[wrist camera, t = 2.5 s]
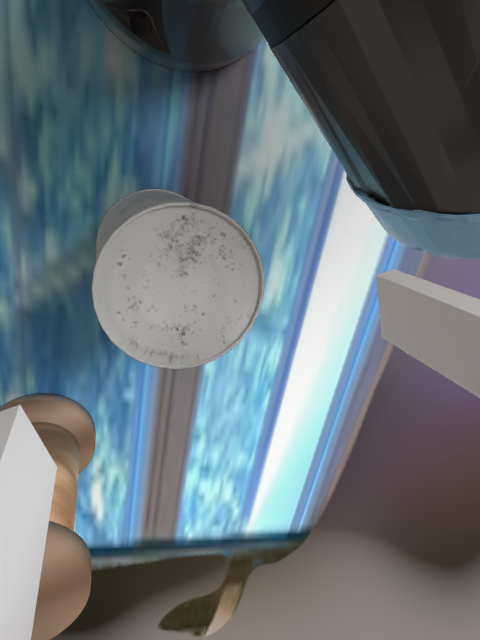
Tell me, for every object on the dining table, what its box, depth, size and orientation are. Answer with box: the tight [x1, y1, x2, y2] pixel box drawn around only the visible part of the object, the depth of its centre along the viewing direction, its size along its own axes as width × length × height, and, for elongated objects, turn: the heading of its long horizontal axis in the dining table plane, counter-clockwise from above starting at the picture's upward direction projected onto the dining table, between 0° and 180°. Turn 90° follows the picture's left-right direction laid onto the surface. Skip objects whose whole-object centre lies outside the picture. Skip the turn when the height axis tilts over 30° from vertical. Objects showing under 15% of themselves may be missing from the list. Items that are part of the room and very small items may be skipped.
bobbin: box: [0, 393, 95, 640], centre depth 29 cm, size 9×9×15 cm
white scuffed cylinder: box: [91, 189, 264, 369], centre depth 27 cm, size 10×10×12 cm
